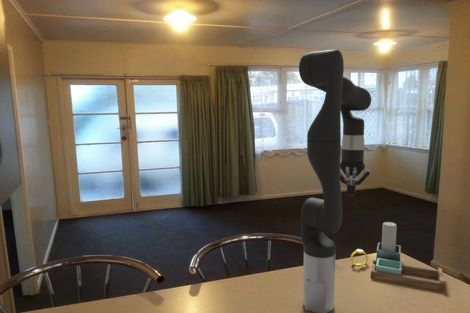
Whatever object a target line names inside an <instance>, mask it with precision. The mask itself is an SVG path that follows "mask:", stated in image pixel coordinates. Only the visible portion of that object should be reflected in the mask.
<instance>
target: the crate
mask: <svg viewBox="0 0 470 313" xmlns="http://www.w3.org/2000/svg"><path fill="white" fill-rule="evenodd" d="M402 264H403V262H402V261H401V260H400V261H394V260H387V259H381V258H377V264H376V268H375V271H380V272H385V273H391V274H397V275H402V272H401V267H402Z"/></svg>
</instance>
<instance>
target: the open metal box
mask: <svg viewBox="0 0 470 313" xmlns="http://www.w3.org/2000/svg"><path fill="white" fill-rule="evenodd" d="M401 248H402V247H401V245H398V244H396V246H395V252H389V251H382V250H381V249H382V242H378V243H377V246H376V258H375V260H377V258H381V259H387V260H394V261H400V262H401Z"/></svg>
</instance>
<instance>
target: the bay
mask: <svg viewBox="0 0 470 313" xmlns="http://www.w3.org/2000/svg"><path fill="white" fill-rule="evenodd" d="M376 264H377V260H376V259H373V260H372V266H371V270H370V279H376V280H381V281H385V282H391V283H396V284H402V285H408V286H413V287H417V288H418V287H419V288H423V289H428V290H429V289H430V290H434V291H439V292H444V291H445V290H444V286H445V279H444V273H443V269H442V267H437V269H433V268H426V267H420V266H414V265H410V264H409V265H408V264H403V263H402V267H401V273H406V274H412V275H416V276H417V275H418V276H424V277H429V278H436V279H437V280H438V281H436V280H429V279H425V278H424V279H423V278H419V277H413V276H407V275H402V274H401V275H397V274H391V273H385V272H380V271H376Z"/></svg>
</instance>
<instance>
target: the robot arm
mask: <svg viewBox="0 0 470 313" xmlns="http://www.w3.org/2000/svg"><path fill="white" fill-rule="evenodd" d="M344 64H345V63H344V58H343V54H342V51H340V49H328V50H317V51H312V52H307V53H304V54H303V55H302V57H301V58H300V59H299V65H298V73H299V74H298V75H299V77H300V80H301V81H302V83H304V84H305V85H307V86H309V87H311V88H315V89H317V90H320V91H323V92H324V93H325V96H324V101H323V104H322V106H321V108H320V109H319V111H318V114H317V115H316V116H315V118H314V120H313V121H312V123H311V125H310V126H309V128H308V130H307V136H306V147H307V148H306V152H307V153H306V154H307V155H306V156H307V158H308V162H309V164H310V166H311V167H312V169H313V171H314V173H315V175H316V176H317V178H318V181H319V182H320V186H321V189H322V195H323V199H322V198H321V199H320V198H317V197H309V198H307V199H306V200H305V201H304V202H303V204H302V207H301V214H300V226H301V228H300V229H301V242H302V246H303V285H302V288H303V290H302V291H303V292H302V296H303V297H302V302H303V303H302V304H303V306H304V310H305V311H308V312H313V313H330V312H331V311H333V310H334V308H335V284H336V283H335V280H336V277H335V276H336V274H335V273H336V244H335V242H334V241H333V240H332V239H331V238H329V237H328V236H327V235H326V234H330V235H334V234H336V233H338V232H339V230H340V228H341V226H342V223H343V201H342V188H341V184H344V185H346V194H347V195H348V196H349V197H353V196H354V195H355V194H356V193H357V192H356V190H357V188H356V187H357V186H360V185H361V184H362V183H363V182H364V181H365V180H366V179H367V178H368V177H369V176H370V174H371V173H372V172H371V170H369V169H367V168H366V166H365V162H364V161H365V159H364V158H365V120H364V119H363V118H362V117H357V116H355V115H353V114H352V112H353V111H355V112H356V111H357V112H362V111H365V110H367V109H369V108H370V106H371V104H372V96H371V92H369V91H368V90H367V89H366V88H364V87H362V86H359V85H355V83H353V81H351V79H349V78H347V77H345V76H344V70H345V69H344V68H345V67H344ZM341 118H342V126H341ZM341 129H342V131H341ZM341 133H342V134H341ZM342 172H343V173H342ZM361 173H362V176H361V177H360V178H359V179H358V177H359V175H360V174H361ZM343 174H344V175H345V177H344V175H343ZM357 179H358V180H357ZM325 233H326V234H325Z"/></svg>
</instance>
